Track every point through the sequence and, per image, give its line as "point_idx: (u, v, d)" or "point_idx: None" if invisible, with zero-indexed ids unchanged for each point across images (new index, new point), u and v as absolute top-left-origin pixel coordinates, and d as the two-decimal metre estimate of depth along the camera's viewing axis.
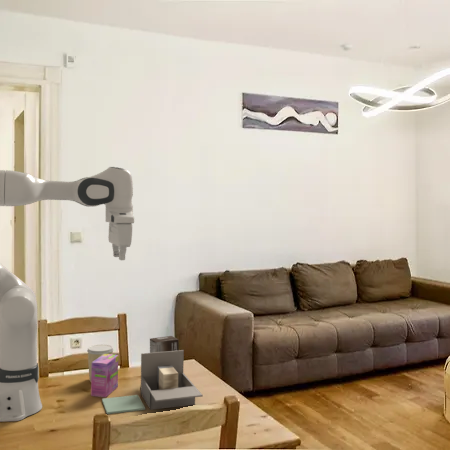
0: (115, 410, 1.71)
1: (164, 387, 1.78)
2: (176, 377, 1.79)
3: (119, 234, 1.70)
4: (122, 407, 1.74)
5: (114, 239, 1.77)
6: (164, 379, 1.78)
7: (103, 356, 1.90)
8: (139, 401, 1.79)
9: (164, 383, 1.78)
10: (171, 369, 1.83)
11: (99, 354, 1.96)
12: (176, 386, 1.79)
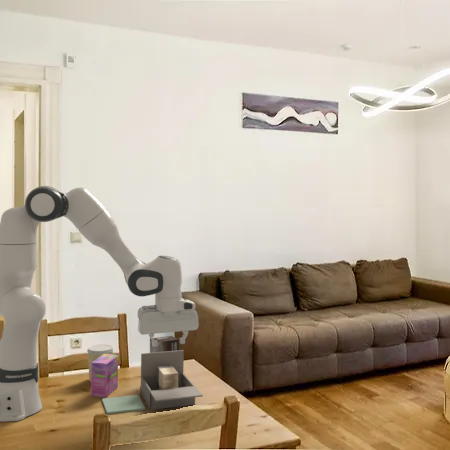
0: (115, 410, 1.71)
1: (164, 387, 1.78)
2: (176, 377, 1.79)
3: (197, 318, 1.83)
4: (122, 407, 1.74)
5: (174, 326, 1.81)
6: (164, 379, 1.78)
7: (103, 356, 1.90)
8: (139, 401, 1.79)
9: (164, 383, 1.78)
10: (171, 369, 1.83)
11: (99, 354, 1.96)
12: (176, 386, 1.79)
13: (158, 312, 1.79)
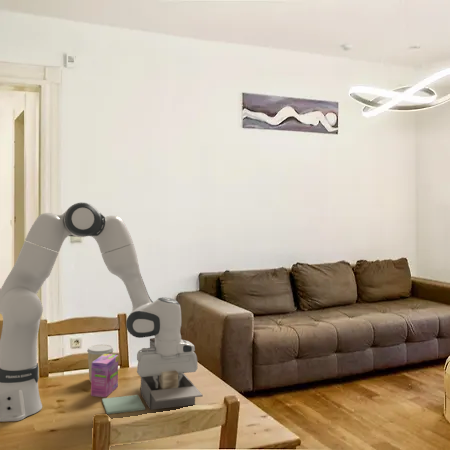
0: (115, 410, 1.71)
1: (164, 387, 1.78)
2: (176, 377, 1.79)
3: (196, 360, 1.84)
4: (122, 407, 1.74)
5: (173, 369, 1.81)
6: (164, 379, 1.78)
7: (103, 356, 1.90)
8: (139, 401, 1.79)
9: (164, 383, 1.78)
10: None
11: (99, 354, 1.96)
12: (176, 386, 1.79)
13: (157, 354, 1.80)
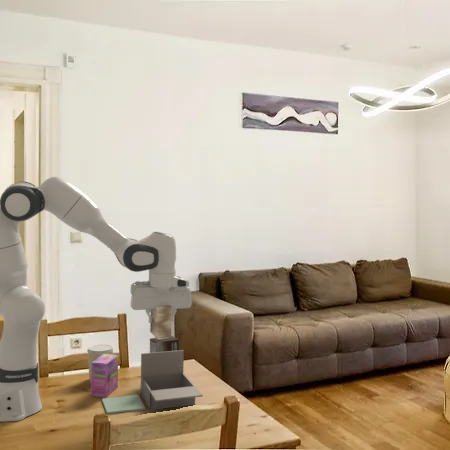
0: (115, 410, 1.71)
1: (157, 320, 1.76)
2: (170, 311, 1.77)
3: None
4: (122, 407, 1.74)
5: (167, 303, 1.80)
6: (158, 312, 1.76)
7: (103, 356, 1.91)
8: (139, 401, 1.79)
9: (157, 316, 1.76)
10: None
11: (99, 354, 1.96)
12: (170, 320, 1.77)
13: (151, 288, 1.78)
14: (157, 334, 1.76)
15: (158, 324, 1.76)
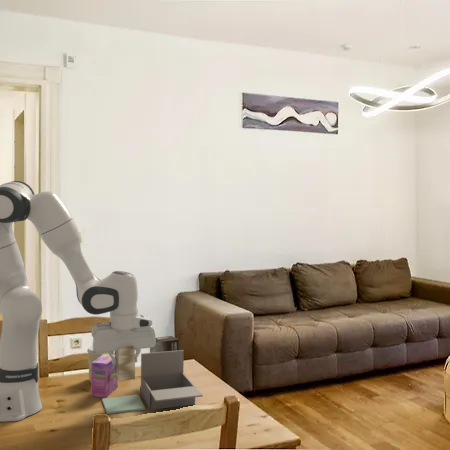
0: (115, 410, 1.71)
1: (120, 363, 1.72)
2: (132, 352, 1.73)
3: None
4: (122, 407, 1.74)
5: (130, 344, 1.75)
6: (120, 354, 1.71)
7: (103, 356, 1.91)
8: (139, 401, 1.79)
9: (120, 359, 1.71)
10: None
11: (99, 354, 1.96)
12: (133, 362, 1.73)
13: (113, 330, 1.73)
14: (120, 377, 1.72)
15: (121, 366, 1.72)
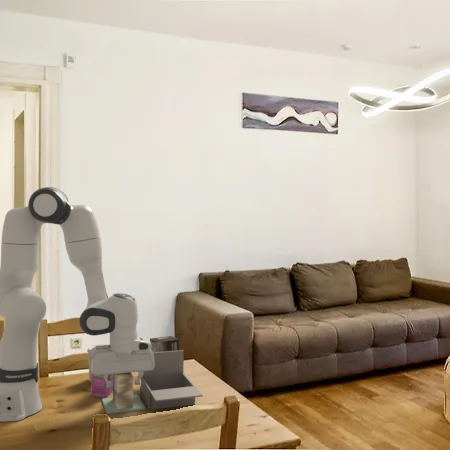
0: (115, 410, 1.71)
1: (118, 391, 1.72)
2: (131, 381, 1.73)
3: None
4: None
5: (128, 367, 1.75)
6: (118, 383, 1.72)
7: None
8: (139, 401, 1.79)
9: (118, 387, 1.72)
10: None
11: None
12: (131, 390, 1.73)
13: (112, 352, 1.73)
14: (118, 405, 1.72)
15: (119, 395, 1.72)
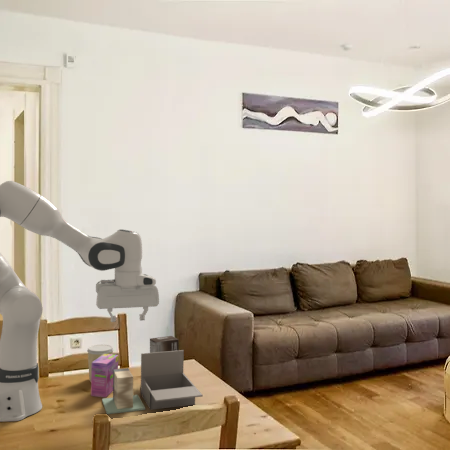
0: (115, 410, 1.71)
1: (118, 391, 1.72)
2: (131, 381, 1.73)
3: None
4: None
5: (133, 302, 1.77)
6: (118, 383, 1.72)
7: (103, 356, 1.90)
8: (139, 401, 1.79)
9: (118, 387, 1.72)
10: (127, 372, 1.77)
11: (99, 354, 1.96)
12: (131, 390, 1.73)
13: (117, 286, 1.75)
14: (118, 405, 1.72)
15: (119, 395, 1.72)
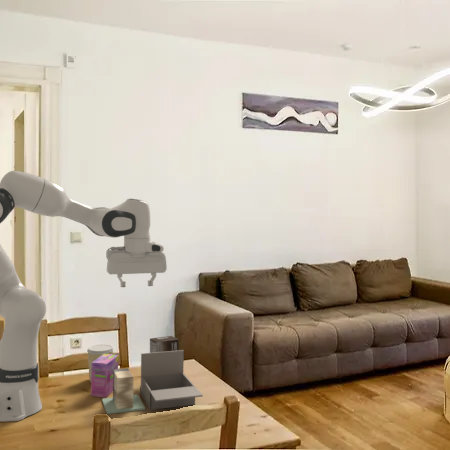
0: (115, 410, 1.71)
1: (118, 391, 1.72)
2: (131, 381, 1.73)
3: (165, 261, 1.88)
4: None
5: (142, 268, 1.85)
6: (118, 383, 1.72)
7: (103, 356, 1.90)
8: (139, 401, 1.79)
9: (118, 387, 1.72)
10: (127, 372, 1.77)
11: (99, 354, 1.96)
12: (131, 390, 1.73)
13: (126, 253, 1.83)
14: (118, 405, 1.72)
15: (119, 395, 1.72)
